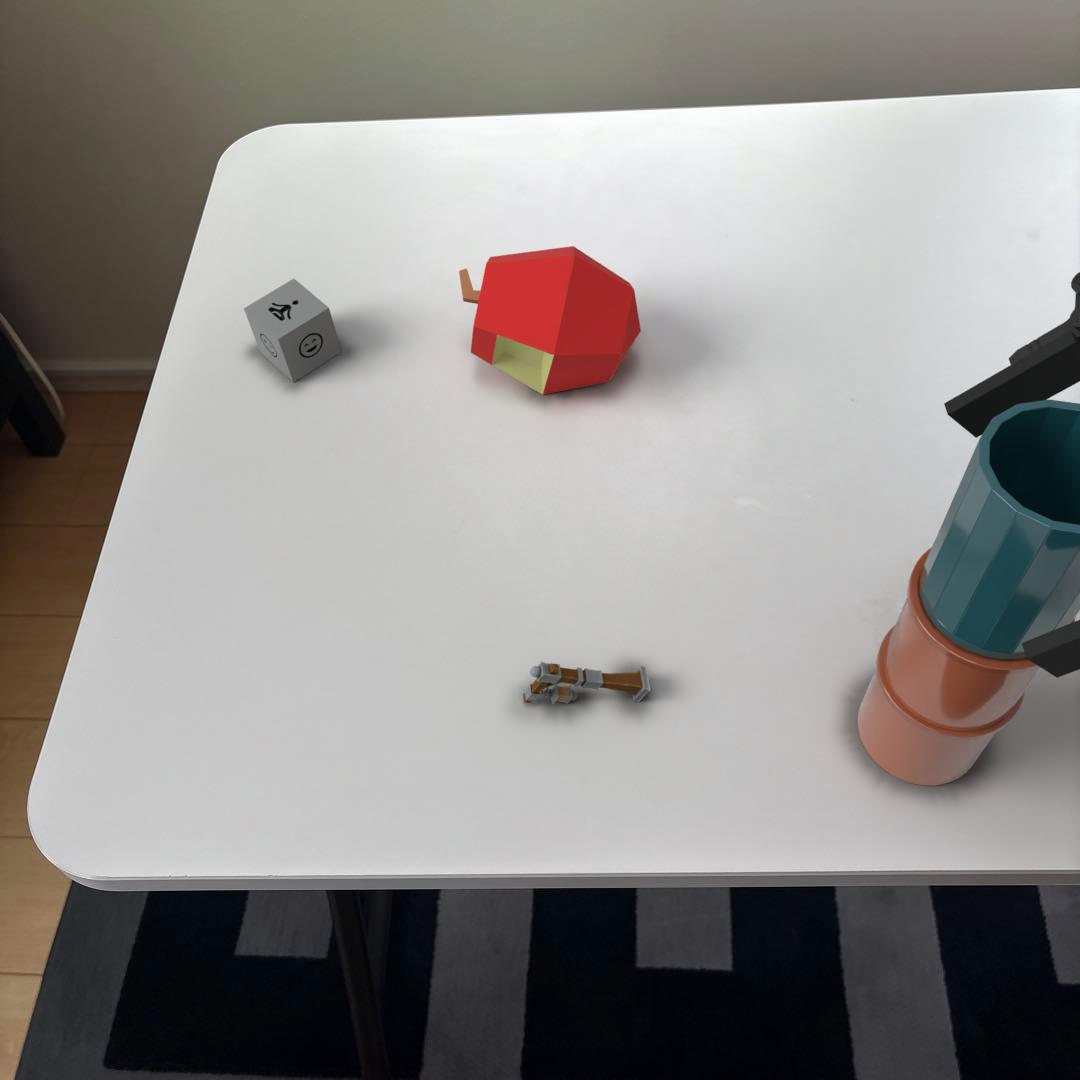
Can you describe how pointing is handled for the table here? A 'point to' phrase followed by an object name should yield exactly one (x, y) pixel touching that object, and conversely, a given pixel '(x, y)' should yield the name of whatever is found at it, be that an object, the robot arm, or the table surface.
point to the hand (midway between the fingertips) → (995, 531)
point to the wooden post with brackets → (583, 682)
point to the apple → (552, 318)
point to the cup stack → (935, 698)
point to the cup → (1011, 535)
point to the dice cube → (293, 329)
